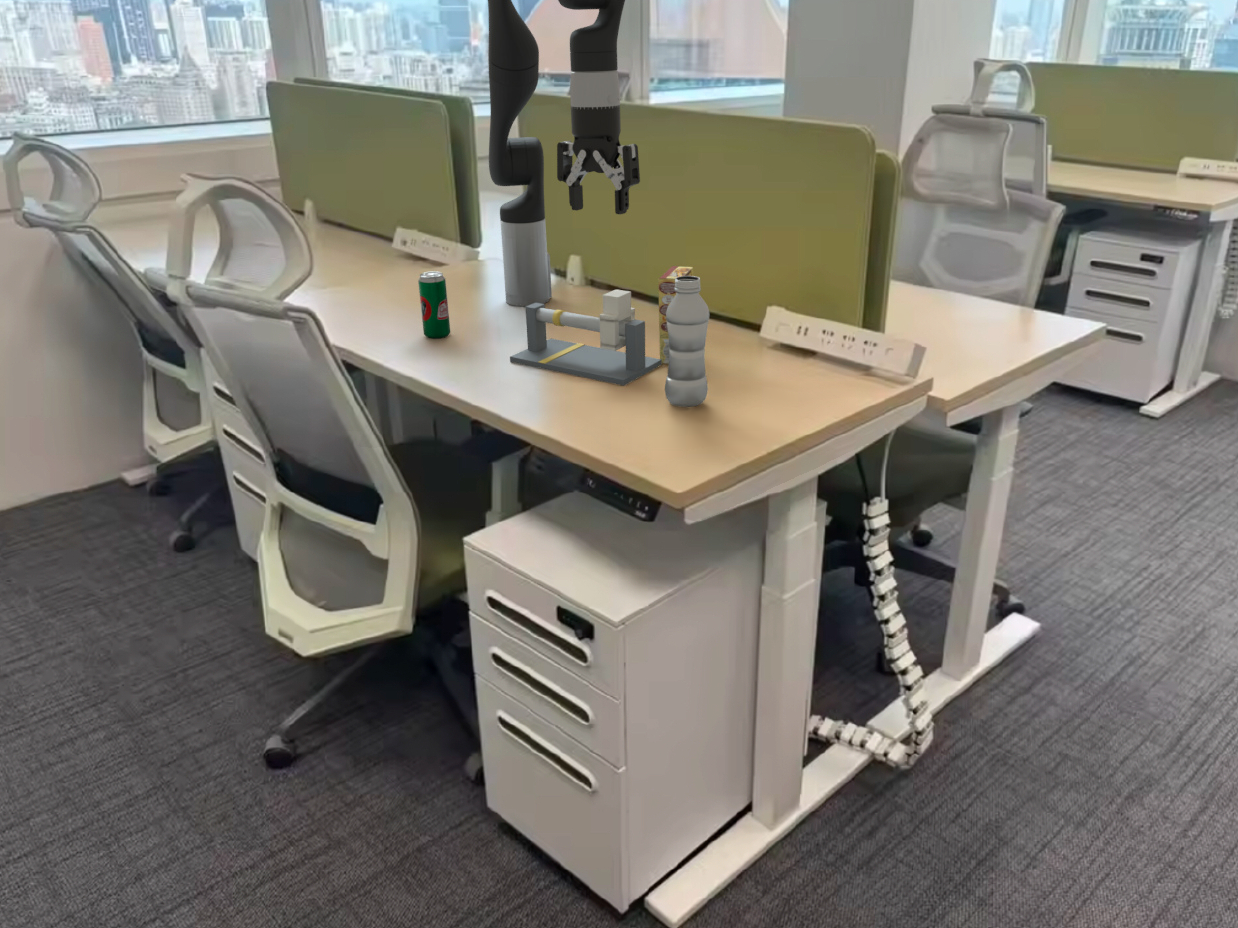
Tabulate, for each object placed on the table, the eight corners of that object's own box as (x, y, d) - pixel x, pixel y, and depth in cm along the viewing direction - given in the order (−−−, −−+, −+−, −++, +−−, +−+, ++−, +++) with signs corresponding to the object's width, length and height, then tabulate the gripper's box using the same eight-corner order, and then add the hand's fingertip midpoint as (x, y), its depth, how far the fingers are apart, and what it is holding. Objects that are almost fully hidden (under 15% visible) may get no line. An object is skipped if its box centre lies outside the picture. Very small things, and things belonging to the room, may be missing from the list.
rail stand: (551, 343, 186) (548, 296, 182) (661, 365, 174) (661, 314, 170) (510, 362, 177) (506, 312, 173) (623, 385, 165) (622, 333, 161)
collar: (620, 338, 173) (619, 287, 169) (635, 341, 172) (634, 290, 168) (600, 348, 169) (598, 296, 165) (615, 351, 167) (614, 299, 163)
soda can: (445, 340, 189) (439, 278, 184) (420, 339, 190) (413, 277, 185) (454, 332, 194) (448, 271, 189) (429, 331, 195) (423, 270, 190)
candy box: (681, 366, 173) (682, 279, 167) (658, 364, 175) (657, 277, 168) (693, 350, 181) (694, 266, 175) (671, 348, 182) (671, 265, 176)
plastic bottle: (662, 398, 160) (662, 274, 151) (704, 396, 160) (706, 272, 152) (667, 413, 154) (667, 285, 145) (711, 410, 154) (713, 283, 146)
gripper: (648, 102, 151) (649, 211, 157) (572, 100, 158) (577, 204, 165) (619, 106, 145) (622, 219, 152) (543, 104, 153) (548, 212, 159)
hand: (598, 211), depth 158 cm, fingers open, 8 cm apart
